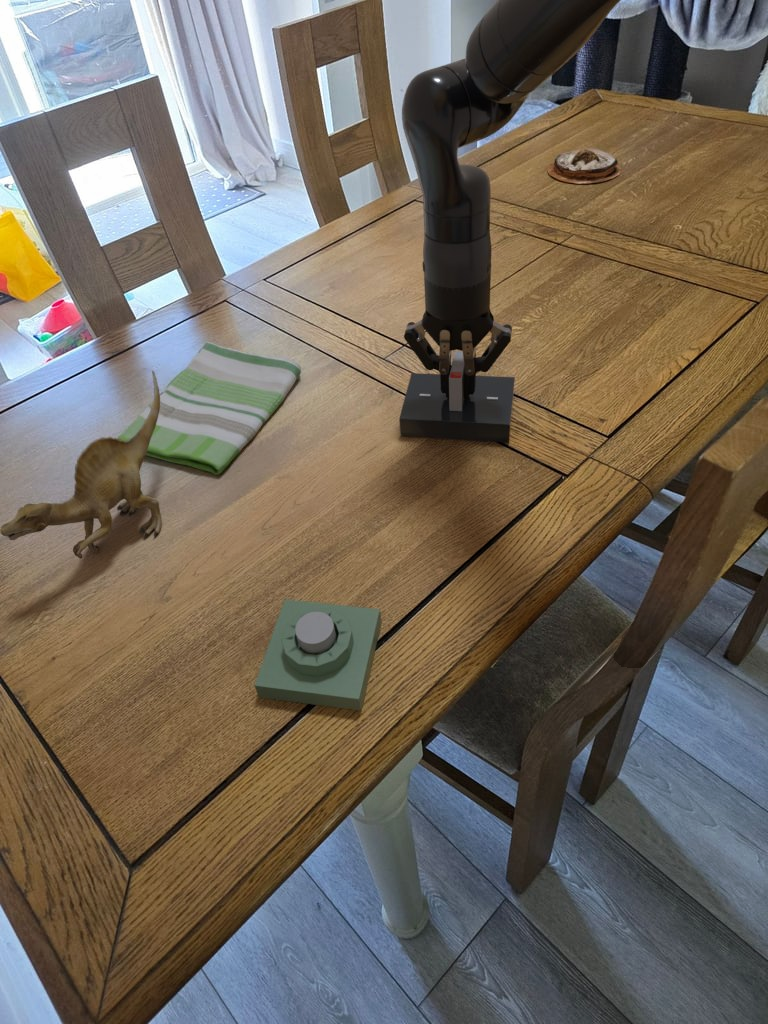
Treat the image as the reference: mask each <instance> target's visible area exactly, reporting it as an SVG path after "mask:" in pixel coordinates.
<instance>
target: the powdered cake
mask: <svg viewBox="0 0 768 1024" xmlns="http://www.w3.org/2000/svg"><path fill="white" fill-rule="evenodd" d="M621 173H622V168H621V166H620V165H619V164H618V160H617V158H616V157H615V156H614V155H612V154H611V153H609V152H607V151H605V150H603V149H600V148H596V147H586V148H584V147H583V148H579V149H574V150H571V151H567V152H561V153H560V154H559V155H556V157H555V159H554V161H553V162H551V163H550V164H549V165H548V166H547V174H549V176H550V177H553V178H554V179H556V180H559V181H561V182H565V183H570V184H571V183H572V184H579V185H580V184H581V185H582V184H595V183H596V184H597V183H602V182H606V181H609V180H613V179H615V178H616V177H618V176H619V175H621Z"/></svg>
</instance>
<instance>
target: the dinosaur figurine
mask: <svg viewBox="0 0 768 1024" xmlns="http://www.w3.org/2000/svg"><path fill="white" fill-rule="evenodd" d="M151 376H152V383H153V400H152V401H153V405H152V408H151V411H150V413H149V415H148V417H147V418H146V420H145V422H144V424H143V425H142V427H141V428H140V429H139V431H138V432H137V433H136V434H135V435H134V436H133V438H130V439H129V440H128V441H123V440H118V437H113V436H107V437H104V436H101V437H99V438H96V439H94V440H93V441H91V442H90V443H88V445H87V446H86V447H85V448H84V449H83V450H82V451H81V452H80V454H79V455H78V456H77V458H76V463H75V465H74V475H73V476H74V477H73V479H74V481H75V483H74V491H73V496H72V497H71V498H69V499H67V500H66V501H63V502H57V503H56V502H39V503H26V504H24V506H20V507H19V508H18V510H17V513H16V515H15V516H14V517H13V518H12V519H11V520H10V521H8V522H6V523H4V524H3V525H1V526H0V534H1V536H3V537H7V538H8V539H9V541H15V540H18V538H21V537H24V536H26V535H29V534H35V533H40V532H43V531H45V530H46V528H47V527H51V526H64V525H69V524H76V523H83V522H84V533H85V536H84V539H82V540H79V541H78V542H77V543H76V544H75V545H73V547H72V552H73V554H74V556H75V557H77V558H78V559H83V554H82V552H84V550H85V549H86V548H87V547H88V549H89V550H90V551H91V552H93V553H97V552H99V551H100V548H99V545H98V544H96V545H95V544H94V543H96V542H98V541H100V540H103V539H104V538H105V537H107V536H108V535H110V534H111V533H112V531H113V525H112V524H113V518H112V514H111V510H112V509H113V508H115V507H116V506H117V507H116V510H120V509H121V510H120V511H119V514H118V515H119V516H122V515H123V514H126V513H127V516H131V515H132V514H133V513H134V512H135V511H136V509H138V508H148V509H149V510H150V518H149V519H148V520H147V521H146V522H144V523H143V524H142V525H141V526H140V528H139V530H138V533H142V532H144V534H143V536H142V538H143V539H145V538H147V537H148V536H149V535H150V534H151V533H152V532H153V531H154V533H153V537H154V538H156V537H157V535H158V534H160V531H161V528H162V524H163V522H162V514H161V510H160V509H161V508H160V503H159V501H158V499H157V498H155V497H151V496H149V495H147V494H143V491H142V479H141V473H140V471H141V468H142V465H143V463H144V461H145V457H146V456H147V455H146V452H147V450H148V446H149V443H150V440H151V437H152V434H153V432H154V429H155V426H156V423H157V419H158V415H159V410H160V394H161V393H160V387H159V384H158V380H157V379H158V378H157V376H156V373H155V370H151ZM123 500H125V501H123ZM121 501H123V502H121ZM120 502H121V503H120ZM119 503H120V504H119ZM95 519H96V520H98V522H99V524H100V527H99V528H97V529H96V530H95V531H94V525H95Z"/></svg>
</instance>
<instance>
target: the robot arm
mask: <svg viewBox="0 0 768 1024" xmlns="http://www.w3.org/2000/svg"><path fill="white" fill-rule="evenodd" d="M621 1H622V0H497V1H495V3H494V4H493V5H492V6H491V7H490V9H489V10H487V12H486V13H485V14H484V15H483V16H482V17H481V19H480V20H479V22H478V23H477V24H476V26H474V28H473V30H472V32H471V33H470V35H469V38H468V41H467V43H466V48H465V55H464V56H465V57H464V58H462V59H460V60H456V61H453V62H449V63H446V64H444V65H440V66H437V67H433V68H430V69H426V70H424V71H422V72H420V73H418V74H416V75H415V76H414V77H413V78H412V79H411V80H410V82H409V83H408V85H407V87H406V90H405V92H404V95H403V99H402V104H401V123H402V129H403V133H404V137H405V140H406V144H407V146H408V148H409V152H410V154H411V159H412V161H413V165H414V168H415V172H416V175H417V178H418V182H419V186H420V189H421V193H422V199H423V200H422V201H423V202H422V203H423V204H422V206H423V229H424V230H423V231H424V234H423V248H422V272H423V282H424V283H423V284H424V285H423V286H424V301H425V302H424V307H425V311H424V313H423V315H422V319H421V320H419V321H417V322H413V321H410V322H408V323H407V324H406V327H405V330H404V334H403V338H404V340H405V342H406V343H407V344H408V346H409V347H410V349H411V350H412V351H413V353H414V354H415V356H416V357H417V358H418V360H419V361H420V363H421V364H422V366H423V367H424V369H426V370H428V371H433V370H434V371H437V372H439V373H438V374H440V382H441V392H442V393H446V398H449V376H450V371H451V366H452V352H453V351H460V352H463V360H464V367H465V371H464V398H467V399H469V396H470V395H473V394H474V392H475V386H476V376H477V373H479V372H482V373H487V372H489V371H490V369H491V367H493V365H494V364H495V363H496V362H497V360H498V359H499V357H500V356H501V355H502V354H503V352H504V351H505V349H506V348H507V347H508V345H509V344H510V343H511V341H512V334H513V333H512V332H513V327H512V325H511V324H508V323H506V324H503V325H501V324H500V323H498V322H496V321H494V320H495V317H494V314H493V313H492V311H491V284H492V283H491V281H492V280H491V279H492V278H491V277H492V240H491V197H492V196H491V195H492V190H491V181H490V180H491V179H490V177H489V175H488V174H487V172H486V171H485V170H484V169H482V168H481V167H479V166H476V165H472V164H465V163H464V164H463V163H460V164H459V160H458V151H459V149H461V148H462V147H465V146H469V145H471V144H474V143H476V142H479V141H482V140H484V139H486V138H489V137H491V136H492V135H494V134H495V133H497V132H498V131H500V130H501V129H502V128H504V127H505V126H506V125H507V124H508V123H510V121H511V120H513V118H514V117H515V116H516V114H517V113H518V111H519V110H520V108H521V107H522V106H523V105H524V103H525V102H526V100H527V98H528V97H529V95H530V94H531V93H533V91H535V90H536V89H538V88H539V87H540V86H541V85H542V84H543V83H544V82H546V81H547V80H549V78H551V76H553V75H554V74H555V73H556V72H557V71H559V70H560V69H561V68H562V67H563V66H565V64H567V63H568V62H569V61H570V60H571V59H572V58H574V56H575V55H576V54H577V53H578V52H579V51H580V50H581V49H582V48H583V47H584V46H585V45H586V44H587V43H588V42H589V40H590V39H591V38H592V37H593V36H594V34H595V33H596V32H597V30H598V29H599V28H600V26H601V25H602V23H604V21H605V20H606V18H607V17H608V16H609V14H610V13H611V11H612V10H613V9H614V8H615V7H616V5H618V4H619V3H620V2H621ZM426 333H427V334H428V335H429V337H431V339H432V340H433V341H434V342H435V343H436V345H437V346H438V347H439V354H438V353H436V351H435V349H434V348H433V347H432V345H431V344H430V342H429V341H428V339H427V338H426ZM489 333H490V334H491V335H490V343H489V344H488V346H487V347H486V348H485V350H484V351H483V352H482V354H481V355H480V356H477V346H478V345H479V344H480V343H481V342H482V341H483V339H484V338H485V337H486V336H487V335H488V334H489Z"/></svg>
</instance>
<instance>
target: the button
mask: <svg viewBox="0 0 768 1024" xmlns="http://www.w3.org/2000/svg"><path fill="white" fill-rule="evenodd" d="M295 633H296V636H297V640H298V643H299V646H300V647H301V648H302V649H303V650H304V651H305V652H307V653H310V654H320V653H323V652H325V651H327V650H328V649H330V648H331V647H332V645H333V644H334V642H335V639H336V632H335V628H334V624H333V621H332V619H331V618H330V616H328V615H327V614H325V613H323V612H311V613H308V614H306V615H304V616H302V617H301V618H300V619H299V621H298V622H297V624H296V627H295Z"/></svg>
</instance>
